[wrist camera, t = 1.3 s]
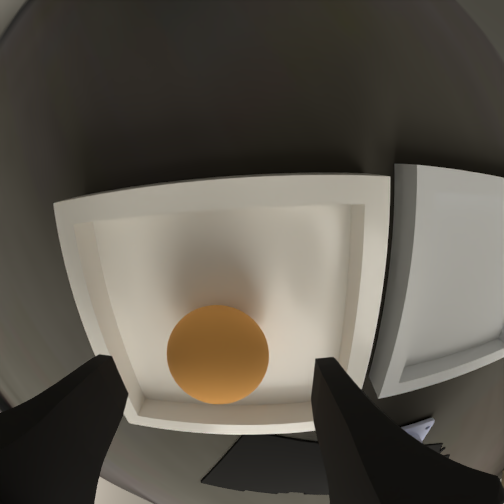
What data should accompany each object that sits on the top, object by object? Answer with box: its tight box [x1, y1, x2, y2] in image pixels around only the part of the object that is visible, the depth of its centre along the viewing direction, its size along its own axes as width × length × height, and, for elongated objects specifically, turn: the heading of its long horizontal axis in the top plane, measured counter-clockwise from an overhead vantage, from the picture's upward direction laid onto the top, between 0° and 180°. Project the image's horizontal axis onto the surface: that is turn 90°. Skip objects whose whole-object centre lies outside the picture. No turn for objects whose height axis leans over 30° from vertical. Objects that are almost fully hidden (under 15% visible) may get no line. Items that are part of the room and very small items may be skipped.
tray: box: [369, 163, 504, 399], centre depth 11 cm, size 12×12×2 cm
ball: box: [167, 305, 269, 404], centre depth 10 cm, size 4×4×4 cm
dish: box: [53, 173, 390, 435], centre depth 12 cm, size 13×13×2 cm
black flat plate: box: [201, 434, 450, 495], centre depth 19 cm, size 12×1×30 cm
